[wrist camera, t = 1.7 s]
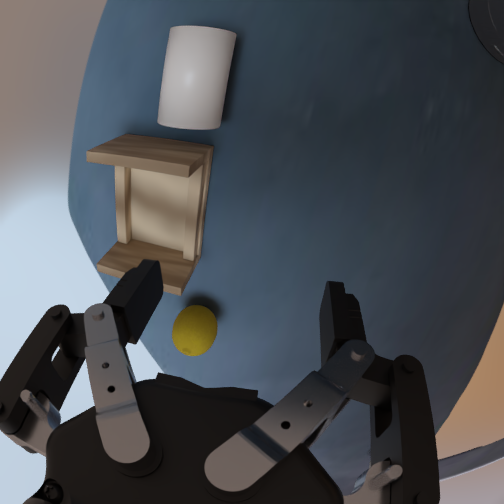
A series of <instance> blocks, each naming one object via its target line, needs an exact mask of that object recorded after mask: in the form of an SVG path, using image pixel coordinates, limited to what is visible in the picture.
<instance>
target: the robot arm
mask: <svg viewBox="0 0 504 504" xmlns="http://www.w3.org/2000/svg"><path fill="white" fill-rule="evenodd" d="M469 14H470V18H471V22H472V25H473V27H474V30H475V32H476V34H477V36H478V38H479V39H480V41H481V42H482V44H483V45H484V47H485V48H486V49H487V50H488V51H489V53H490V54H491V55H492V56H494V57H495V58H496V59H497V60H498V61H500V62H502V63H503V64H504V0H470V1H469ZM163 289H164V286H163V279H162V273H161V266H160V262H159V261H158V260H151V259H143V260H142V261H141V263H140V264H139V265H138V267H137V268H136V267H133V268H132V269H130V270H129V271H127V272H126V273H125V274H124V275H123V276H122V278H121V280H119V282H118V283H117V284H116V286H115V287H114V288H113V290H112V291H111V292H110V294H109V295H108V296H107V298H106V299H105V301H104V302H103V303H99V304H95V305H92V306H91V307H89V308H88V309H87V310H86V311H85V313H74V314H71V313H70V310H69V308H68V307H67V306H66V305H55V306H53V307H51V308H50V309H48V311H47V312H46V313H45V315H44V316H43V317H42V318H41V320H40V321H39V323H38V324H37V325H36V327H35V328H34V330H33V331H32V333H31V334H30V335H29V337H28V338H27V340H26V341H25V343H24V344H23V346H22V347H21V349H20V351H19V352H18V353H17V355H16V356H15V358H14V360H13V361H12V363H11V364H10V366H9V367H8V369H7V371H6V372H5V374H4V376H3V378H2V379H1V381H0V430H1V431H2V432H3V433H4V434H5V435H6V436H8V437H9V438H10V439H11V440H13V441H14V442H15V443H16V444H18V445H20V446H21V447H22V448H24V449H25V450H26V451H28V452H30V453H40V454H42V455H44V456H46V475H45V480H44V483H43V485H42V486H41V487H40V489H39V490H38V491H37V492H36V493H35V494H34V495H33V496H31V497H30V498H29V499H27V500H26V501H25V502H24V503H23V504H439V501H440V486H439V469H438V458H437V448H436V439H435V432H434V425H433V418H432V412H431V406H430V400H429V395H428V389H427V384H426V379H425V375H424V370H423V366H422V364H421V363H420V361H419V360H417V359H416V358H415V357H413V356H410V355H400V356H398V357H397V358H396V359H395V360H394V361H393V360H389V359H386V358H383V357H380V356H378V355H376V354H375V352H374V349H373V348H372V347H371V345H369V344H368V343H367V341H366V335H365V330H364V325H363V320H362V315H361V312H360V306H359V302H358V300H357V299H356V298H355V296H354V295H353V294H346V293H345V288H344V283H343V282H335V281H327V283H326V287H325V291H324V295H323V299H322V303H321V308H320V316H319V320H320V341H321V369H320V370H319V371H317V372H316V371H312V372H311V373H310V374H308V375H307V376H306V377H305V378H304V379H303V380H302V381H301V382H300V383H299V384H298V385H297V386H296V387H295V388H294V389H293V390H291V391H290V392H289V393H288V394H287V395H286V396H285V397H284V398H283V399H282V400H280V401H279V402H278V403H277V404H276V405H275V406H273V405H272V404H270V403H269V402H267V401H265V400H263V399H260V398H257V395H258V390H250V389H243V388H236V387H222V388H204V387H201V386H199V385H196V384H194V383H192V382H190V381H188V380H185V379H183V378H181V377H176V376H172V375H167V374H163V373H158V375H157V377H156V379H149V380H143V381H139V382H136V379H135V376H134V373H133V370H132V367H131V364H130V361H129V357H128V354H127V351H126V348H125V347H126V345H127V343H132V344H137V342H138V340H139V338H140V336H141V334H142V333H143V331H144V329H145V327H146V325H147V323H148V321H149V320H150V318H151V316H152V314H153V312H154V310H155V309H156V307H157V305H158V303H159V301H160V300H161V298H162V295H163ZM58 346H59V347H60V349H59V351H58V352H57V354H56V356H55V358H54V359H53V361H51V360H52V356H53V354H54V352H55V350H56V349H57V347H58ZM85 359H86V362H87V368H88V374H89V379H90V384H91V389H92V394H93V399H94V403H95V406H93V407H91V408H90V409H88V410H86V411H84V412H82V413H81V414H79V415H77V416H75V417H73V418H71V419H70V420H68V421H66V422H64V423H62V424H60V422H61V416H60V413H59V411H60V409H61V407H62V404H63V402H64V400H65V398H66V396H67V394H68V392H69V390H70V388H71V386H72V384H73V382H74V380H75V378H76V376H77V374H78V372H79V370H80V368H81V366H82V364H83V362H84V360H85ZM351 399H353V400H356V401H359V402H362V403H365V404H369V405H370V425H371V467H370V468H369V469H367V470H366V471H365V472H364V473H362V474H361V475H360V476H359V477H358V479H357V480H356V483H355V487H354V490H353V492H352V493H351V494H350V495H348V496H343V495H342V492H341V490H340V488H339V487H338V485H337V484H336V483H335V482H334V481H333V479H332V478H331V477H330V476H329V474H328V473H327V472H326V471H325V469H324V468H323V467H322V466H321V464H320V463H319V462H318V460H317V459H316V458H315V457H314V455H313V454H312V453H311V451H310V450H309V448H310V447H311V446H312V445H313V444H314V443H315V442H316V441H317V440H318V438H319V437H320V436H321V435H322V434H323V432H324V431H325V430H326V429H327V427H328V426H329V425H330V424H331V423H332V421H333V420H334V419H335V418H336V417H337V416H338V414H339V413H340V412H341V411H342V410H343V409H344V407H345V406H346V405H347V404H348V403H349V401H350V400H351Z"/></svg>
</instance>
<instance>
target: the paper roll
mask: <svg viewBox="0 0 504 504" xmlns="http://www.w3.org/2000/svg"><path fill="white" fill-rule="evenodd" d="M236 36H237V34H236V33H234V32H231V31H228V30H223V29H218V28H212V27H203V26H176V27H172V28H170V33H169V39H168V45H167V51H166V57H165V63H164V70H163V77H162V85H161V93H160V101H159V111H158V121H157V122H158V123H159V124H161V125H164V126H168V127H174V128H181V129H196V130H206V129H216V128H219V127H220V124H221V118H222V112H223V106H224V100H225V94H226V88H227V83H228V77H229V72H230V66H231V61H232V56H233V51H234V46H235V41H236Z"/></svg>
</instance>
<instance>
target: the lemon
mask: <svg viewBox="0 0 504 504" xmlns="http://www.w3.org/2000/svg"><path fill="white" fill-rule="evenodd" d="M217 327H218V326H217V320H216V317H215V316H214V314H213V313H212V312H211V311H210V310H209V309H208V308H206V307H204V306H201V305H192V306H189V307H186V308H185V309H184V310H182V311H181V312H180V313H179V315H178V316H177V318H176V320H175V322H174V325H173V331H172V339H173V342H174V344H175V346H176V348H177V349H178V350H179V351H180V352H182V353H183V354H185V355H189V356H198V355H201V354H203V353H205V352H206V351H207V350H208V349H209V348H210V347H211V346H212V344H213V342H214V340H215V338H216V335H217Z"/></svg>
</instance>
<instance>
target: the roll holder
mask: <svg viewBox="0 0 504 504" xmlns="http://www.w3.org/2000/svg"><path fill="white" fill-rule="evenodd" d="M213 148H214V146H210V145H204V144H198V143H192V142H186V141H179V140H172V139H165V138H157V137H149V136H140V135H131V134H125V135H122V136H120V137H117V138H115V139H113V140H110V141H108V142H106V143H103V144H101V145H99V146H97V147H95V148H92V149H90V150H88V151H87V162H93V163H100V164H107V165H114V166H115V198H116V219H117V234H118V241H117V242H116V243H115V244H114V246H113V247H112V248H111V249H110V250H109V251H108V252H107V253H106V254H105V255H104V256H103V257H102V259H101V260H100V261H99V262H98V263H97V269H98V271H99V272H102V273H105V274H108V275H111V276H115V277H118V278H122V276H123V275H124V274H125V273H126V272H127V271H129V270H130V269H132V268H133V267H136V268H137V267H138V265H139V264H140V263H141V261H142V260H143V259H151V260H158V261H159V262H160V266H161V273H162V279H163V286H164V289H163V291H165V292H169V293H172V294H176V295H180V296H181V295H182V293H183V291H184V289H185V287H186V285H187V283H188V281H189V279H190V277H191V275H192V273H193V271H194V269H195V267H196V265H197V263H198V261H199V259H200V258H201V247H202V238H203V228H204V219H205V210H206V202H207V194H208V186H209V178H210V170H211V163H212V156H213Z"/></svg>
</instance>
